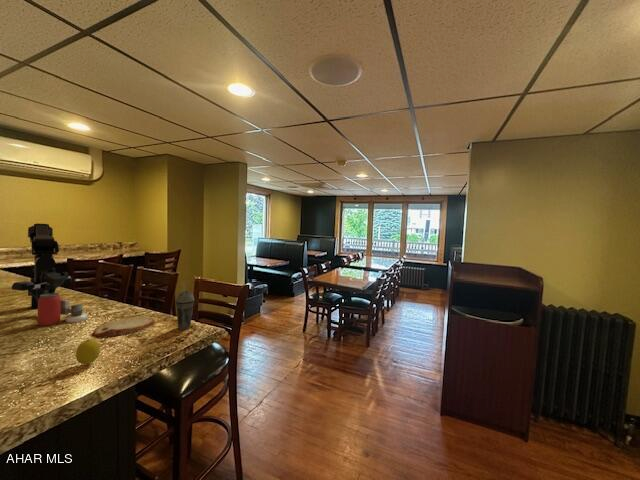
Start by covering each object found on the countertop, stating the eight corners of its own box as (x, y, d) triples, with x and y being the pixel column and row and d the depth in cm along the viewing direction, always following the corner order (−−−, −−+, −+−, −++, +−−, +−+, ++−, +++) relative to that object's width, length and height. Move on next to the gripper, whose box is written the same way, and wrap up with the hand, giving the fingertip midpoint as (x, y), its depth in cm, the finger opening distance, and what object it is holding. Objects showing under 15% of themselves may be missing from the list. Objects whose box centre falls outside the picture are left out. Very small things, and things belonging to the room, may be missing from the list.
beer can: (64, 321, 113) (65, 293, 113) (47, 327, 107) (47, 297, 106) (50, 320, 114) (51, 292, 113) (32, 325, 107) (33, 295, 107)
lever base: (71, 317, 118) (71, 313, 118) (90, 317, 120) (90, 312, 120) (61, 323, 111) (61, 318, 111) (81, 322, 113) (81, 317, 113)
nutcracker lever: (84, 314, 117) (85, 294, 116) (74, 316, 113) (74, 296, 112) (45, 308, 121) (46, 288, 121) (34, 310, 117) (35, 290, 117)
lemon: (85, 360, 84) (85, 335, 84) (104, 360, 84) (104, 335, 84) (70, 369, 78) (70, 342, 78) (90, 370, 79) (91, 343, 79)
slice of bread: (157, 320, 121) (157, 312, 121) (142, 336, 104) (142, 327, 104) (111, 321, 117) (111, 313, 116) (87, 339, 99) (87, 329, 99)
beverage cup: (197, 326, 116) (199, 281, 115) (182, 332, 109) (184, 283, 108) (185, 323, 119) (187, 278, 118) (170, 328, 112) (172, 281, 111)
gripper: (33, 271, 107) (33, 310, 108) (81, 265, 126) (81, 297, 126) (10, 269, 109) (11, 307, 110) (61, 263, 127) (61, 295, 128)
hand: (44, 301), depth 119 cm, fingers open, 3 cm apart
